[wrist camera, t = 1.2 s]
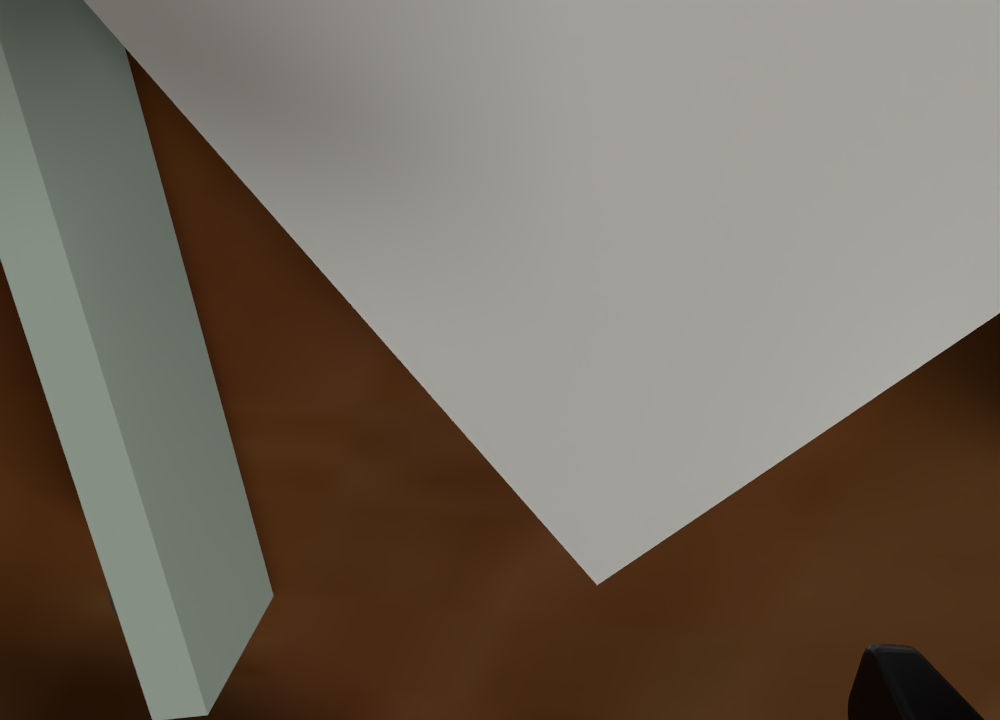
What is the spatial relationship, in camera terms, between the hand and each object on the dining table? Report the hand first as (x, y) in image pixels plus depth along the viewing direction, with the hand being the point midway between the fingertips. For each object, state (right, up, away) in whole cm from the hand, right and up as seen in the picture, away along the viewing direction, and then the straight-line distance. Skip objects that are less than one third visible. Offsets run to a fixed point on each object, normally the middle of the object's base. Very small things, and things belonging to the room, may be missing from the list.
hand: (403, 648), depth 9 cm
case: (+3, +10, +10) cm, 14 cm away
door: (-7, +4, +12) cm, 14 cm away
